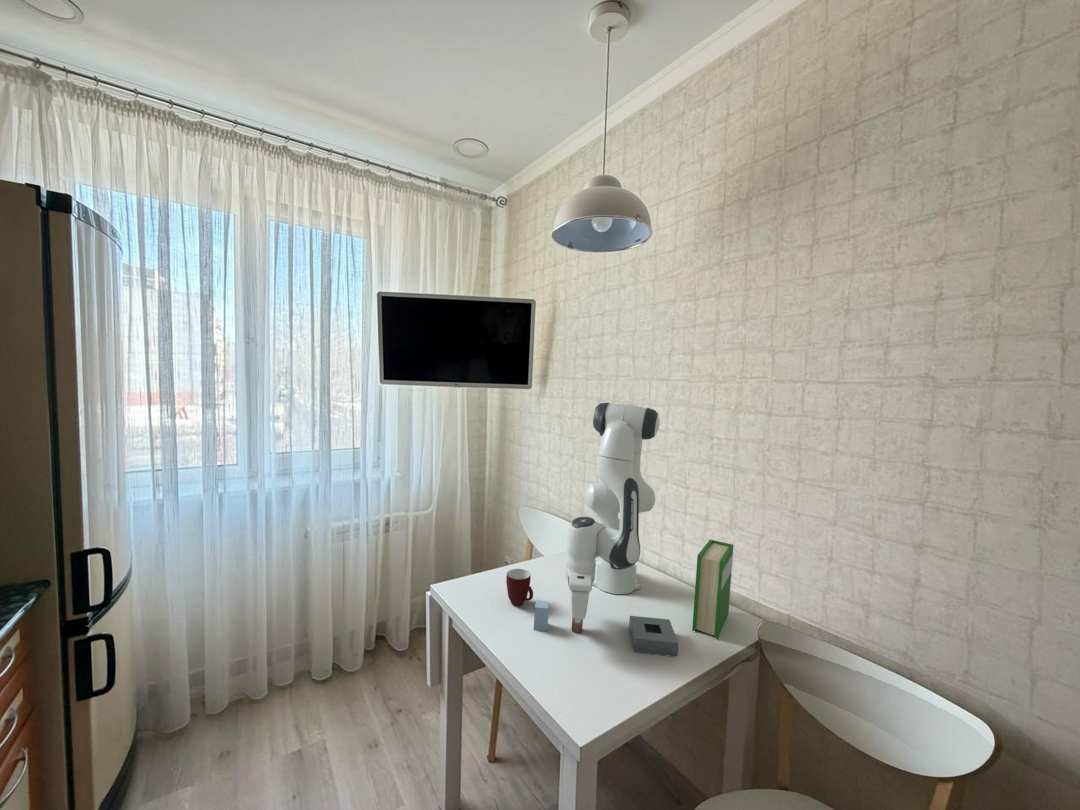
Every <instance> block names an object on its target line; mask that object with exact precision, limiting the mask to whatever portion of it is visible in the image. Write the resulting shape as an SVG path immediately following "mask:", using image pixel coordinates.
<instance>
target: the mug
mask: <svg viewBox="0 0 1080 810" xmlns="http://www.w3.org/2000/svg"><path fill="white" fill-rule="evenodd" d="M505 579H506V580H505V581H506V583H505V584H506V589H507V597H508V599H509V601H510V603H511V604H512V606H516V607H519V606H523V604H524V603H525V602H530V601H531V600H532V599H533V598H534V591H533V587H532V586H530V585H531V579H532V577H531V572H530V571H529V570H527V569H523V568H514V569H513V568H512V569H510V570H508V571H507V572H506V578H505ZM528 596H529V597H528Z"/></svg>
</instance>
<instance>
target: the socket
mask: <svg viewBox="0 0 1080 810" xmlns="http://www.w3.org/2000/svg"><path fill="white" fill-rule="evenodd" d="M628 619H629V620H628V621H629V622H628V630H629V634H630V635H629V636H630V640H631V645H632V649H633V650H632V651H633V653H635V654H637V653H639V654H646V653H649V654H648V655H655V654H659V655H658V656H665V655H670V656H669V657H675V656H678V654H679V641H678V638H677V636H676V632H675V631H674V627H673V626H672V622H671V619H669V618H667V619H666V618H658V617H657V618H656V617H649V616H648V617H647V616H640V615H639V616H636V615H629V618H628Z"/></svg>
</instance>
